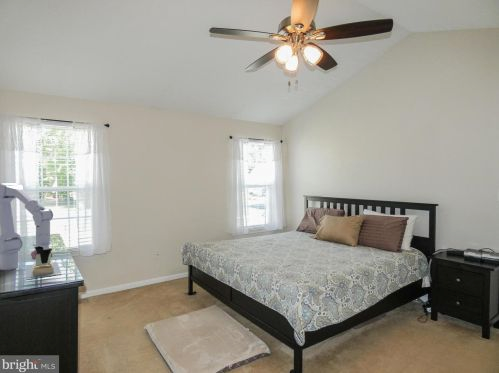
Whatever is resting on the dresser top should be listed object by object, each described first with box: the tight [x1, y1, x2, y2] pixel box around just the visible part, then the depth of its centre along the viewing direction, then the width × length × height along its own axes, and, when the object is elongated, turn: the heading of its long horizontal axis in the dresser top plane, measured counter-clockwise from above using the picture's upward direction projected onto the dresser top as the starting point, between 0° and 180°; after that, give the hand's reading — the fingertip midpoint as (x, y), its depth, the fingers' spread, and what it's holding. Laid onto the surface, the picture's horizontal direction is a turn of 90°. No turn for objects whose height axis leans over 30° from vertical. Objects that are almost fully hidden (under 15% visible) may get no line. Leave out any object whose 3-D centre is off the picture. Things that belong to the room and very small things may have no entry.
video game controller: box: [30, 249, 53, 260], centre depth 174 cm, size 10×5×7 cm, turn 141°
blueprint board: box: [24, 261, 62, 281], centre depth 150 cm, size 24×14×4 cm, turn 37°
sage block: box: [35, 252, 52, 266], centre depth 146 cm, size 4×4×5 cm
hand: (43, 261), depth 146 cm, fingers closed on sage block, 6 cm apart
